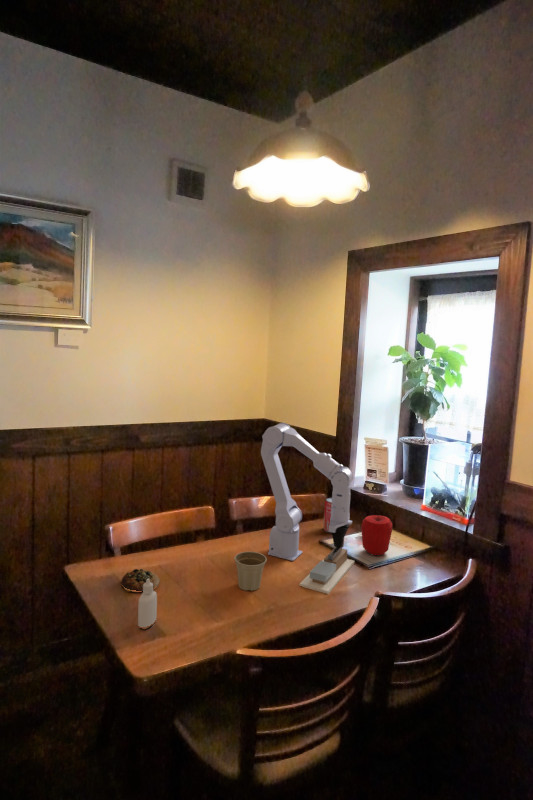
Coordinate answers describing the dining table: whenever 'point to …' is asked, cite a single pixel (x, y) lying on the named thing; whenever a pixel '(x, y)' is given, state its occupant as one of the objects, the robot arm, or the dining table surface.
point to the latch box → (341, 570)
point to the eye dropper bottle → (147, 605)
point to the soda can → (327, 514)
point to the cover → (323, 571)
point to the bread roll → (139, 579)
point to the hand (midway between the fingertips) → (337, 546)
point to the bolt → (335, 552)
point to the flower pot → (250, 569)
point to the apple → (376, 534)
